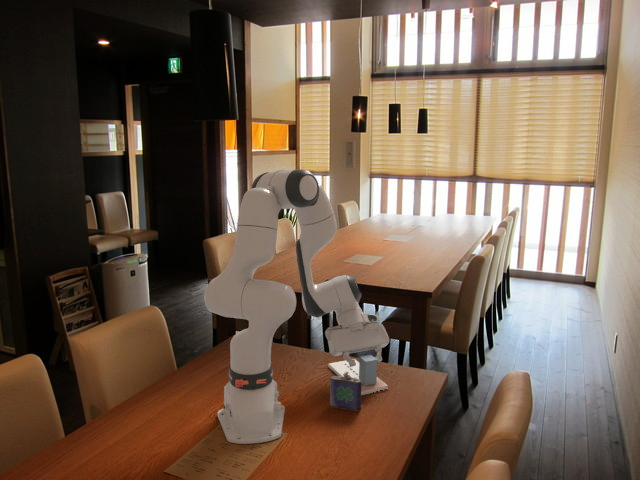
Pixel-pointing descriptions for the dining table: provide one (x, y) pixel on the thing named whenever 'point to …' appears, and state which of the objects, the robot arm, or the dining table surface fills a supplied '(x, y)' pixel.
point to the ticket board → (356, 376)
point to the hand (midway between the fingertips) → (366, 363)
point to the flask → (345, 392)
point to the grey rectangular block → (368, 370)
